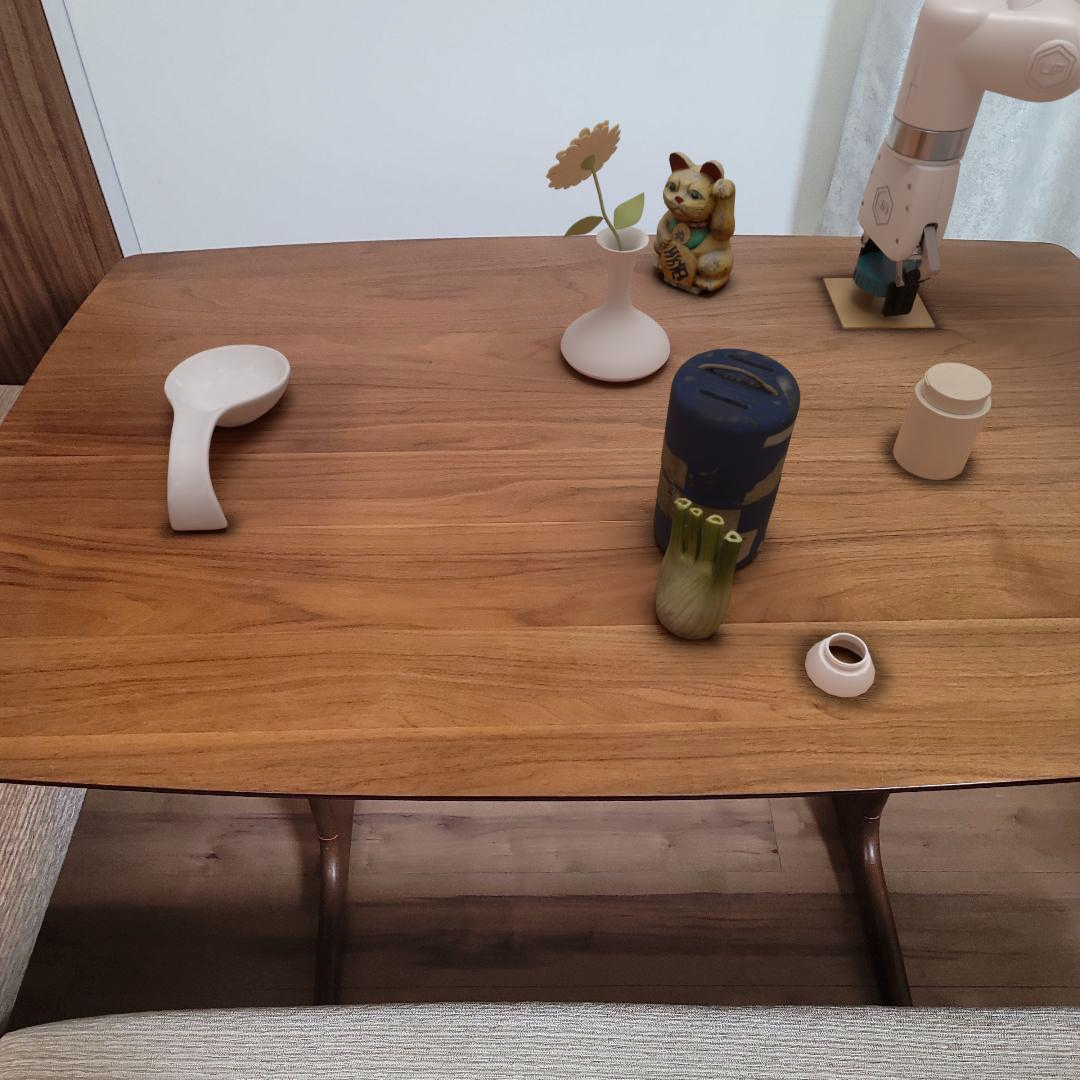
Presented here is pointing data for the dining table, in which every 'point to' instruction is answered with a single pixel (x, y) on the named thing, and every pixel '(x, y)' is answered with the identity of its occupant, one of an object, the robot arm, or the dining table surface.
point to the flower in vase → (609, 274)
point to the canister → (727, 442)
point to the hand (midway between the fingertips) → (881, 294)
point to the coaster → (870, 308)
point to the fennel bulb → (696, 573)
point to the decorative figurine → (696, 226)
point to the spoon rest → (214, 420)
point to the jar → (943, 421)
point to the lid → (876, 273)
